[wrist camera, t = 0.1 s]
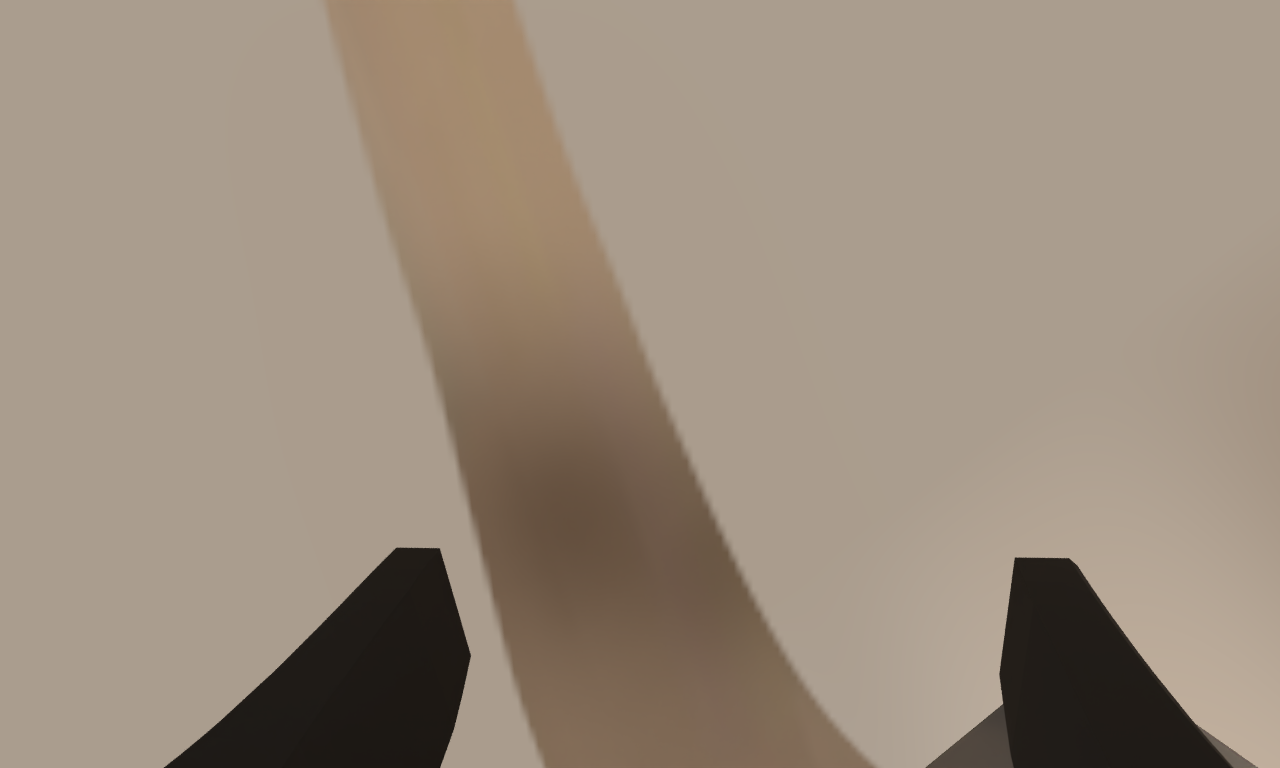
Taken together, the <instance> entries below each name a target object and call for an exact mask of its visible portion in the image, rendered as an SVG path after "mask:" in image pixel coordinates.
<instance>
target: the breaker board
mask: <svg viewBox="0 0 1280 768" xmlns="http://www.w3.org/2000/svg"><path fill="white" fill-rule="evenodd" d="M1197 726H1198V725H1197ZM1198 728H1199V729H1200V730H1201V731H1202V732H1203V734H1204V735H1205V736H1206V737H1207V738H1208V739H1209V741H1210V742H1211V743H1212V744H1213V745H1214V746H1215V747H1216V749H1217V750H1218V751H1219V752H1220V753H1221V754H1222V755H1223V756H1224V758H1225V759H1226V760H1227V761H1228V762H1229V763H1230V764H1231V765H1232V767H1233V768H1258V767H1256V766H1255V765H1253V764H1252V763H1250V762H1249V761H1248V760H1246V759H1245V758H1243V757H1242V756H1240V755H1239V754H1238V753H1236V752H1235V751H1233V750H1232V749H1230V748H1229V747H1228V746H1226V745H1225V744H1223V743H1222V742H1220V741H1219V740H1218V739H1216V738H1215V737H1213V736H1212V735H1210V734H1209V733H1208V732H1206V731H1205V730H1203V729H1202V728H1201V727H1199V726H1198ZM926 768H1014V767H1013V763H1012V759H1011V754H1010V747H1009V740H1008V734H1007V727H1006V720H1005V712H1004V705H1001V706H1000V707H999V708H998V709H997V710H995V711H994V712H993V713H992V714H991V715H989V716H988V717H987V718H986V719H984V720H983V721H982V722H981V723H979V724H978V725H977V726H976V727H975V728H973V729H972V730H971V731H970V732H969V733H967V734H966V735H965V736H964V737H962V738H961V739H960V740H959V741H957V742H956V743H955V744H954V745H953V746H951V747H950V748H949V749H948V750H946V751H945V752H944V753H943V754H942V755H940V756H939V757H938V758H937V759H936V760H934V761H933V762H932V763H931V764H929V765H928V766H927V767H926Z"/></svg>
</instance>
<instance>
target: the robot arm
mask: <svg viewBox="0 0 1280 768" xmlns="http://www.w3.org/2000/svg"><path fill="white" fill-rule="evenodd" d="M470 657H471V654H470V651H469V647H468V644H467V641H466V637H465V634H464V630H463V627H462V623H461V620H460V616H459V613H458V610H457V606H456V603H455V599H454V596H453V592H452V589H451V586H450V582H449V579H448V575H447V572H446V568H445V565H444V561H443V558H442V554H441V551H440V549H439V548H396V549H395V550H394V551H393V552H392V553H391V554H390V555H389V556H388V557H387V558H386V559H385V560H384V561H383V562H382V563H381V564H380V565H379V566H378V567H377V568H376V569H375V570H374V571H373V572H372V573H371V574H370V575H369V576H368V577H367V578H366V579H365V580H364V581H363V582H362V583H361V584H360V585H359V586H358V587H357V588H356V589H355V590H354V592H352V593H351V594H350V595H349V597H348V598H347V599H346V600H345V601H344V602H343V603H342V604H341V605H340V606H339V607H338V608H337V609H336V610H335V611H334V612H333V613H332V614H331V615H330V616H329V617H328V618H327V620H325V621H324V622H323V623H322V624H321V625H320V626H319V627H318V628H317V630H315V631H314V632H313V633H312V634H311V635H310V636H309V637H308V639H306V640H305V641H304V642H303V644H301V645H300V646H299V647H298V649H296V650H295V651H294V652H293V653H292V654H291V655H290V656H289V657H288V658H287V659H286V660H285V661H284V662H283V663H282V664H281V665H280V666H279V667H278V668H277V669H276V670H275V671H274V672H273V673H272V674H271V675H270V676H269V677H268V678H267V679H265V680H264V681H263V682H262V683H261V684H260V685H259V686H258V687H257V688H256V689H255V690H254V691H252V692H251V693H250V694H249V695H248V696H247V697H246V698H245V699H244V700H243V701H242V702H241V703H239V704H238V705H237V706H236V707H235V708H234V709H233V710H232V711H231V712H230V713H229V714H227V715H226V716H225V717H224V718H223V719H222V720H221V721H220V722H219V723H217V724H216V725H215V726H214V727H213V728H212V729H211V730H210V731H208V732H207V733H206V734H205V735H204V736H202V737H201V738H200V739H199V740H198V741H196V742H195V743H194V744H193V745H192V746H190V747H189V748H188V749H187V750H186V751H184V752H183V753H182V754H181V755H179V756H178V757H177V758H176V759H174V760H173V761H172V762H170V763H169V764H168V765H167V766H166V767H164V768H440V766H441V763H442V761H443V758H444V755H445V752H446V750H447V747H448V744H449V742H450V739H451V736H452V733H453V730H454V727H455V722H456V719H457V714H458V710H459V706H460V702H461V698H462V694H463V689H464V685H465V680H466V676H467V671H468V666H469V662H470ZM1000 682H1001V690H1002V697H1003V705H1004V712H1005V720H1006V727H1007V734H1008V740H1009V747H1010V754H1011V759H1012V763H1013V767H1014V768H1233V767H1232V765H1231V764H1230V763H1229V762H1228V761H1227V760H1226V759H1225V758H1224V756H1223V755H1222V754H1221V753H1220V752H1219V751H1218V750H1217V749H1216V747H1215V746H1214V745H1213V744H1212V743H1211V742H1210V741H1209V739H1208V738H1207V737H1206V736H1205V735H1204V734H1203V732H1202V731H1201V730H1200V729H1199V728H1198V726H1197V725H1196V724H1195V723H1194V722H1193V721H1192V719H1191V718H1190V717H1189V716H1188V715H1187V713H1186V712H1185V711H1184V710H1183V709H1182V707H1181V706H1180V705H1179V703H1178V702H1177V701H1176V700H1175V698H1174V697H1173V696H1172V695H1171V693H1170V692H1169V691H1168V690H1167V688H1166V687H1165V686H1164V685H1163V683H1161V681H1160V680H1159V679H1158V678H1157V676H1156V675H1155V674H1154V672H1152V670H1151V668H1150V667H1149V666H1148V664H1147V663H1146V662H1145V661H1144V659H1143V658H1142V657H1141V655H1140V654H1139V653H1138V651H1137V650H1136V649H1135V647H1134V646H1133V645H1132V643H1131V642H1130V641H1129V639H1128V638H1127V637H1126V635H1125V634H1124V632H1123V631H1122V630H1121V628H1120V627H1119V626H1118V624H1117V623H1116V621H1115V620H1114V619H1113V618H1112V616H1111V614H1110V613H1109V612H1108V610H1107V609H1106V607H1105V606H1104V605H1103V603H1102V602H1101V600H1100V599H1099V597H1098V596H1097V594H1096V593H1095V591H1094V590H1093V589H1092V587H1091V586H1090V584H1089V583H1088V581H1087V580H1086V578H1085V577H1084V575H1083V574H1082V572H1081V571H1080V569H1079V567H1078V566H1077V565H1076V564H1075V563H1074V562H1073V561H1071V560H1070V559H1069V558H1015V561H1014V568H1013V575H1012V583H1011V591H1010V599H1009V606H1008V614H1007V621H1006V628H1005V636H1004V644H1003V651H1002V659H1001V666H1000Z"/></svg>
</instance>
